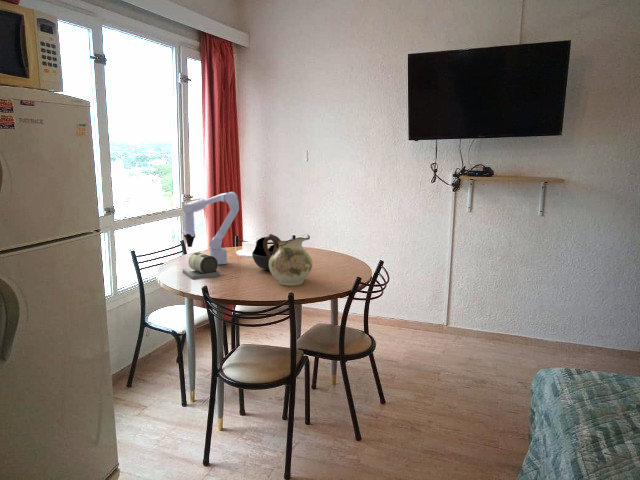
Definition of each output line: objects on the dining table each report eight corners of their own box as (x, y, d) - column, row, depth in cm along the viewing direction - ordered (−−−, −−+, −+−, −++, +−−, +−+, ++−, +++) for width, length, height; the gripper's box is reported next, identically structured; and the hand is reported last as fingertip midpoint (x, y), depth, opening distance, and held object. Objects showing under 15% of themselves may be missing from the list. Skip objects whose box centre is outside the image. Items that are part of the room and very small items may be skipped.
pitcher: (317, 286, 227) (317, 237, 223) (270, 290, 220) (270, 239, 216) (306, 275, 248) (306, 230, 244) (263, 278, 242) (262, 232, 237)
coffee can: (199, 248, 256) (212, 252, 246) (207, 263, 261) (220, 267, 250) (184, 258, 250) (197, 263, 240) (193, 273, 255) (206, 278, 245)
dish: (279, 250, 311) (278, 234, 309) (266, 258, 287) (266, 241, 285) (245, 248, 316) (244, 232, 314) (230, 256, 292) (229, 239, 290)
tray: (209, 269, 259) (208, 265, 259) (220, 275, 246) (219, 272, 246) (182, 272, 251) (182, 269, 251) (192, 279, 238) (192, 276, 238)
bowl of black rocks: (251, 266, 267) (250, 234, 263) (285, 264, 271) (285, 233, 267) (253, 275, 248) (253, 241, 244) (290, 273, 252) (290, 240, 248)
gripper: (178, 222, 270) (179, 245, 272) (186, 226, 258) (187, 249, 261) (190, 221, 274) (190, 244, 276) (198, 225, 262) (199, 248, 264)
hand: (189, 246), depth 269 cm, fingers closed
